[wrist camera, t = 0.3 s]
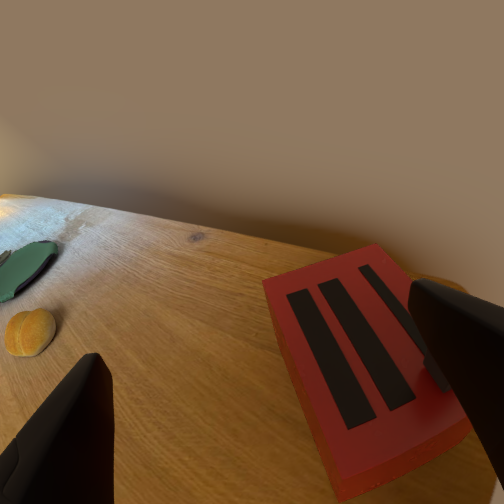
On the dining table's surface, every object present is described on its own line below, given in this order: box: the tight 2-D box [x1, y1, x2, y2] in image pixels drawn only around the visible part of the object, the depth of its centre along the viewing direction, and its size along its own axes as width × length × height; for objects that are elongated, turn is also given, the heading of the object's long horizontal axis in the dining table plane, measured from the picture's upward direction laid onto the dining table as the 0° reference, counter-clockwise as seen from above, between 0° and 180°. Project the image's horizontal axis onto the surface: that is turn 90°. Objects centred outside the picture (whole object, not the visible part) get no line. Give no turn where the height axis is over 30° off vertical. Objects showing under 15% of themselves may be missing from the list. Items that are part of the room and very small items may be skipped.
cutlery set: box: [0, 240, 58, 303], centre depth 55 cm, size 20×30×2 cm, turn 70°
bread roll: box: [5, 308, 56, 357], centre depth 36 cm, size 8×9×4 cm
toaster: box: [262, 243, 473, 503], centre depth 21 cm, size 16×10×8 cm, turn 13°
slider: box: [423, 348, 452, 393], centre depth 13 cm, size 2×2×4 cm
